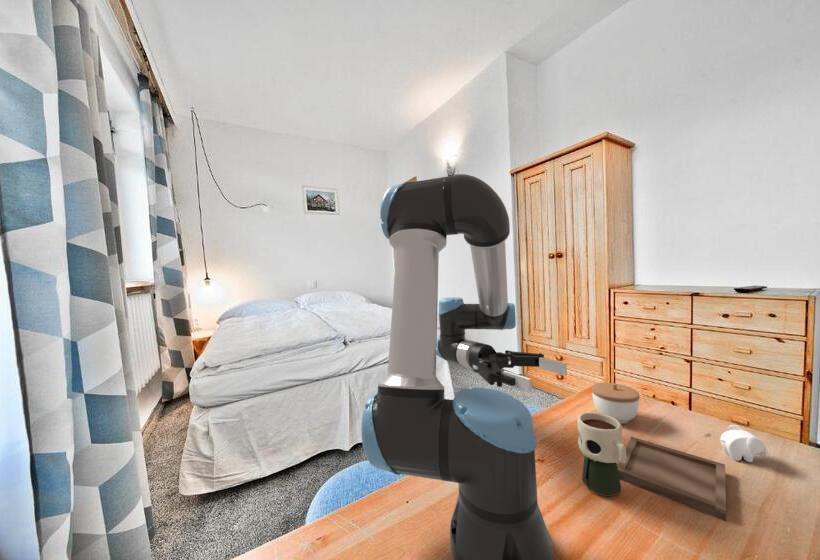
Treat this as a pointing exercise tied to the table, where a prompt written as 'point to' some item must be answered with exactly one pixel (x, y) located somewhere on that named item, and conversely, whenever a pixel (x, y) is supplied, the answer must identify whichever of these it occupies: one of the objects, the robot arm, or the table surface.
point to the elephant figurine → (741, 444)
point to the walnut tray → (676, 476)
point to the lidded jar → (616, 401)
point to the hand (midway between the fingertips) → (549, 377)
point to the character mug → (601, 451)
